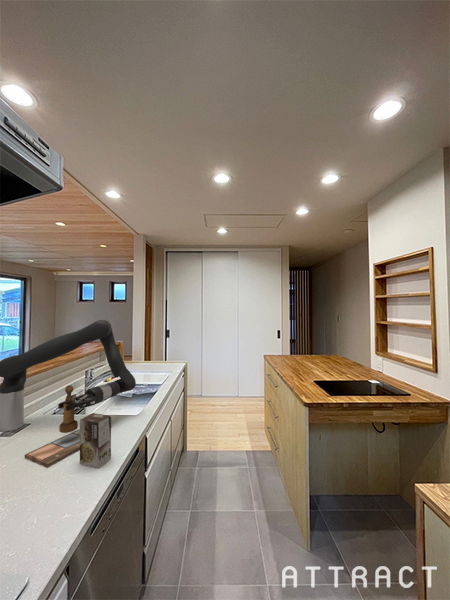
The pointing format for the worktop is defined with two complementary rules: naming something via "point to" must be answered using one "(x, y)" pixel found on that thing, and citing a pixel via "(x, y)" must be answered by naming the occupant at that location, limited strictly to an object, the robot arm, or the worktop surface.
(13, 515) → the worktop surface
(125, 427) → the worktop surface
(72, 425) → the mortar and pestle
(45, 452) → the tile board
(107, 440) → the coffee box
